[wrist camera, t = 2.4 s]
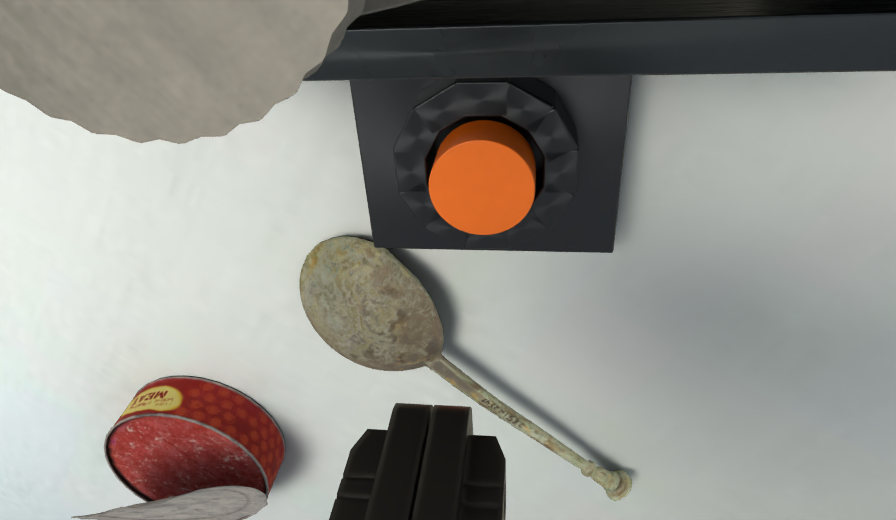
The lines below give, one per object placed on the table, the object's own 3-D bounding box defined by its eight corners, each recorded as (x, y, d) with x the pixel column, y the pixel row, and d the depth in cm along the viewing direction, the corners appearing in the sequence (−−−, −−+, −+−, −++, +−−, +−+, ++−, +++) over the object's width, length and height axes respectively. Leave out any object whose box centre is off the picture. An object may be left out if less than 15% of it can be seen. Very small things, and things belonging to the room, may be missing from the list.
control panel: (357, 16, 24) (327, 46, 20) (630, 8, 22) (645, 38, 19) (384, 222, 29) (364, 272, 25) (608, 225, 27) (617, 279, 24)
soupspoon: (359, 197, 29) (285, 273, 32) (335, 236, 26) (257, 314, 30) (665, 455, 35) (575, 495, 38) (672, 508, 32) (574, 547, 35)
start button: (432, 120, 22) (424, 140, 20) (536, 119, 21) (536, 139, 20) (439, 210, 24) (432, 234, 22) (534, 211, 23) (534, 236, 22)
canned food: (282, 344, 40) (312, 466, 33) (266, 453, 45) (289, 581, 37) (78, 354, 35) (58, 501, 28) (86, 475, 40) (70, 628, 33)
